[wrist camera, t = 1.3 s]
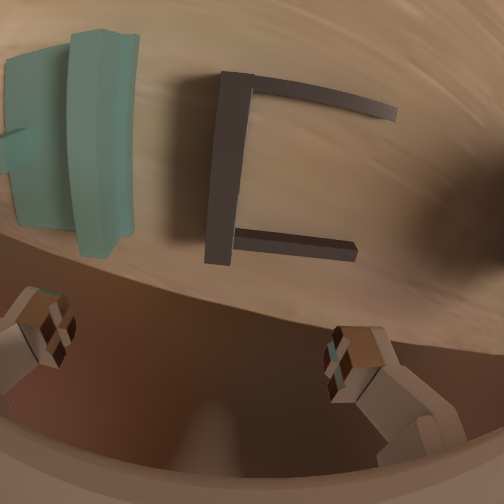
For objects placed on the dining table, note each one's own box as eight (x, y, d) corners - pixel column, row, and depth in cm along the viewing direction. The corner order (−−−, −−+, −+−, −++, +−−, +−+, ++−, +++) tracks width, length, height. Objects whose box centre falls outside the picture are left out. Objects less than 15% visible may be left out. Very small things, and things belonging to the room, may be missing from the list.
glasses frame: (225, 73, 19) (220, 71, 16) (389, 105, 20) (413, 112, 17) (209, 237, 27) (203, 263, 23) (349, 253, 28) (362, 278, 24)
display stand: (14, 59, 16) (-22, 63, 12) (139, 35, 17) (113, 27, 13) (24, 219, 25) (-2, 244, 21) (134, 230, 26) (115, 260, 22)
